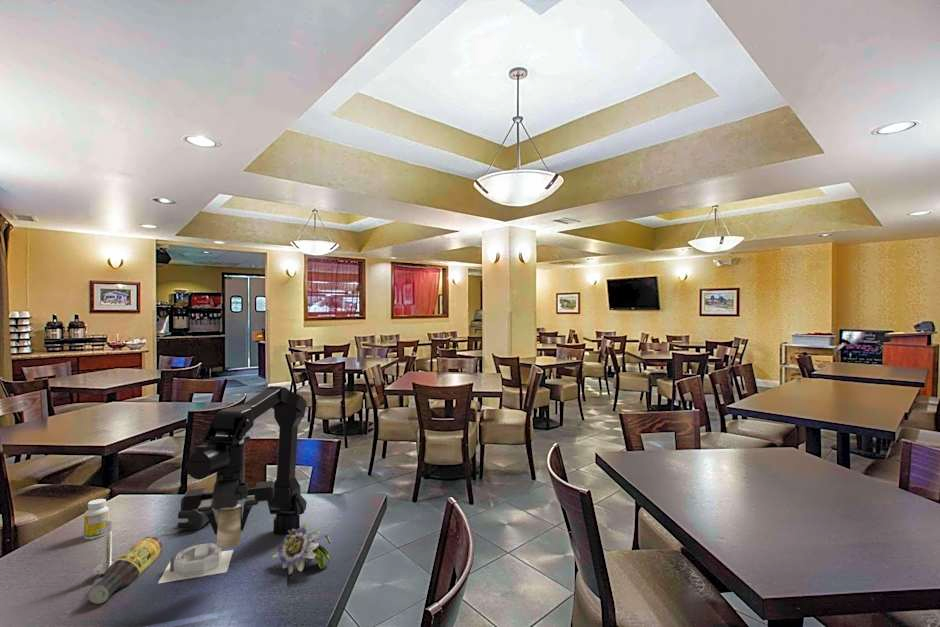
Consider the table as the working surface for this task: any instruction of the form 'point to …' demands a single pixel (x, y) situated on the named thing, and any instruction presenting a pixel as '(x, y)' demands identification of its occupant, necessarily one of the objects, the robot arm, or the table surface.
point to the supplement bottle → (95, 519)
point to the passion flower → (301, 549)
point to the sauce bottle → (126, 568)
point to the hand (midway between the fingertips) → (229, 531)
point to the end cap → (192, 520)
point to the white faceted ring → (187, 567)
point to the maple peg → (229, 526)
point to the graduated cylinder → (106, 550)
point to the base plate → (221, 568)
